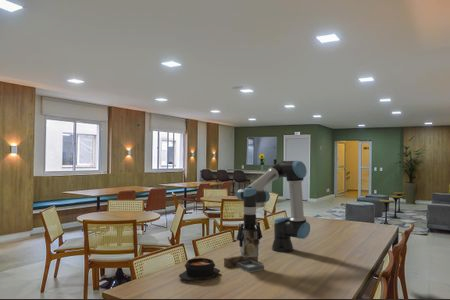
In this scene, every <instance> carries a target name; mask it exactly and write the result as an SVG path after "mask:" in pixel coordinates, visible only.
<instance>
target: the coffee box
mask: <svg viewBox="0 0 450 300" xmlns="http://www.w3.org/2000/svg"><path fill="white" fill-rule="evenodd" d="M242 232H243V233H244V239H243V241H244V253H243V252H240V256H241V255H242V256H243V257H244V258H245V257H258V258H259V250H258V229H257V228H256V229H249V230H244V228H243V231H242Z"/></svg>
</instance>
